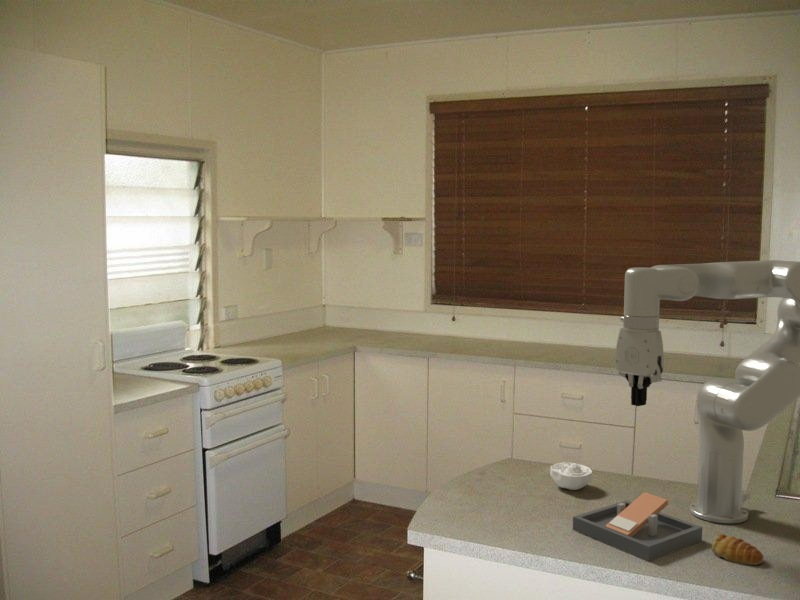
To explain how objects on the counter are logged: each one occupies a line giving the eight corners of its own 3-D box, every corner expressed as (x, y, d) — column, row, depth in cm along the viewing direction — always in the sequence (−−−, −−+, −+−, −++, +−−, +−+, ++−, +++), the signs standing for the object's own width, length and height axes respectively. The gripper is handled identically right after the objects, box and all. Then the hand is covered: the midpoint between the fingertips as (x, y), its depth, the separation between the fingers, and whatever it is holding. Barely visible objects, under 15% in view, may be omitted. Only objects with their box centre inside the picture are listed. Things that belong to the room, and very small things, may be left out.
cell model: (580, 479, 208) (581, 454, 207) (598, 494, 196) (598, 468, 195) (543, 480, 206) (544, 455, 206) (559, 496, 194) (559, 469, 194)
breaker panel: (625, 512, 183) (626, 489, 182) (701, 540, 167) (702, 514, 166) (572, 529, 173) (573, 504, 172) (648, 561, 156) (649, 533, 156)
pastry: (768, 560, 157) (769, 542, 157) (754, 570, 153) (754, 552, 152) (723, 546, 164) (723, 529, 164) (707, 555, 160) (708, 537, 159)
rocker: (644, 496, 176) (643, 490, 175) (669, 504, 170) (668, 499, 170) (604, 530, 169) (603, 524, 168) (629, 540, 163) (628, 534, 163)
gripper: (603, 321, 177) (601, 400, 179) (659, 328, 165) (656, 413, 166) (624, 319, 181) (622, 396, 183) (680, 325, 169) (677, 409, 171)
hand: (638, 404), depth 175 cm, fingers closed
